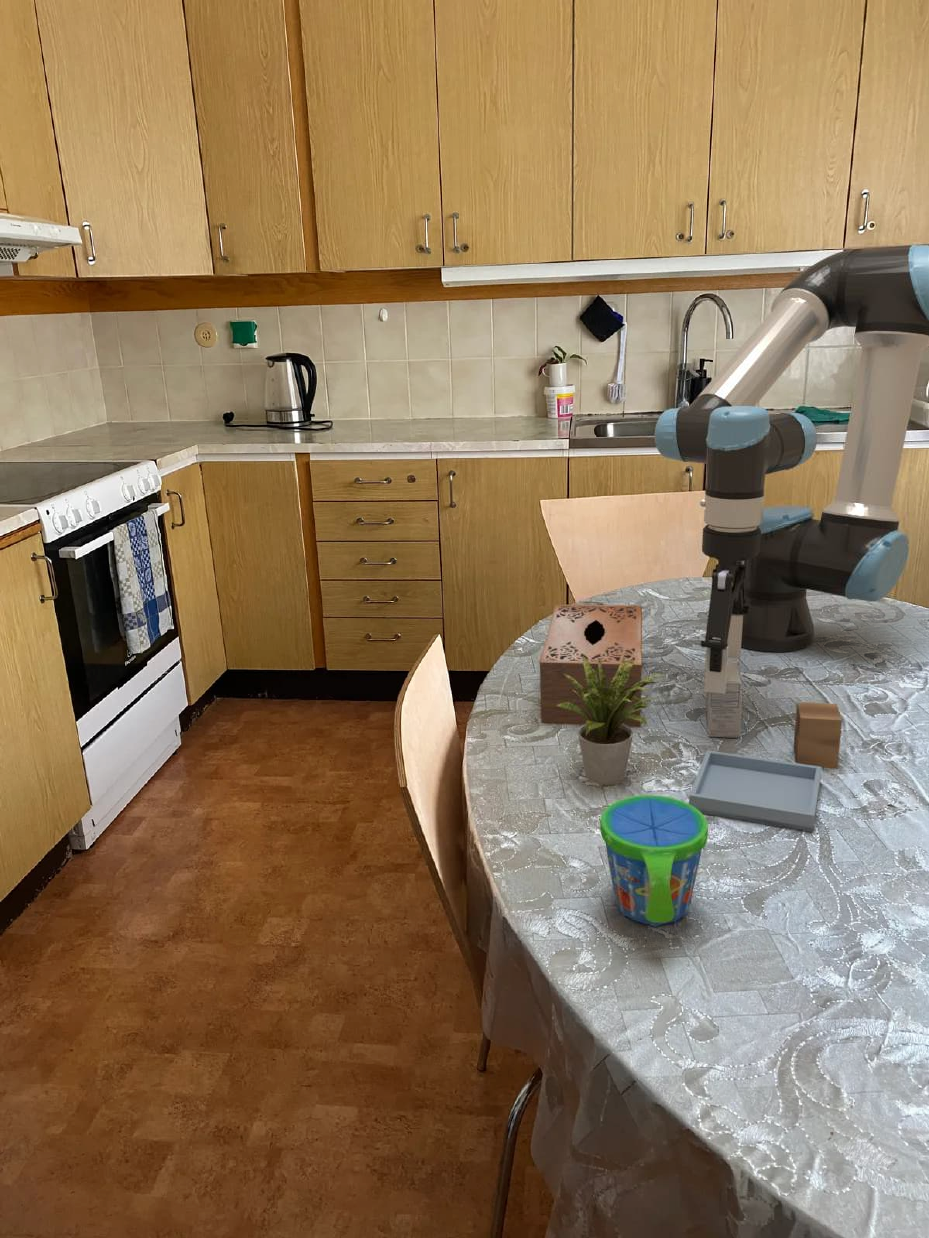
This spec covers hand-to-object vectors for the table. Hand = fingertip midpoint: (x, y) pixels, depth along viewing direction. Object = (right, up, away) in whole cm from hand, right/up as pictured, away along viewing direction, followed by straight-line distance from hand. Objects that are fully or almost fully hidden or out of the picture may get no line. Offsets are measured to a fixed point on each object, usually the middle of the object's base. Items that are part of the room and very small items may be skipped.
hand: (723, 673), depth 132 cm
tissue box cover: (-16, -4, +17) cm, 24 cm away
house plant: (-18, -13, -10) cm, 24 cm away
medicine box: (+1, -8, +3) cm, 9 cm away
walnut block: (+10, -11, -7) cm, 17 cm away
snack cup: (-17, -22, -35) cm, 45 cm away
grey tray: (0, -14, -16) cm, 21 cm away
